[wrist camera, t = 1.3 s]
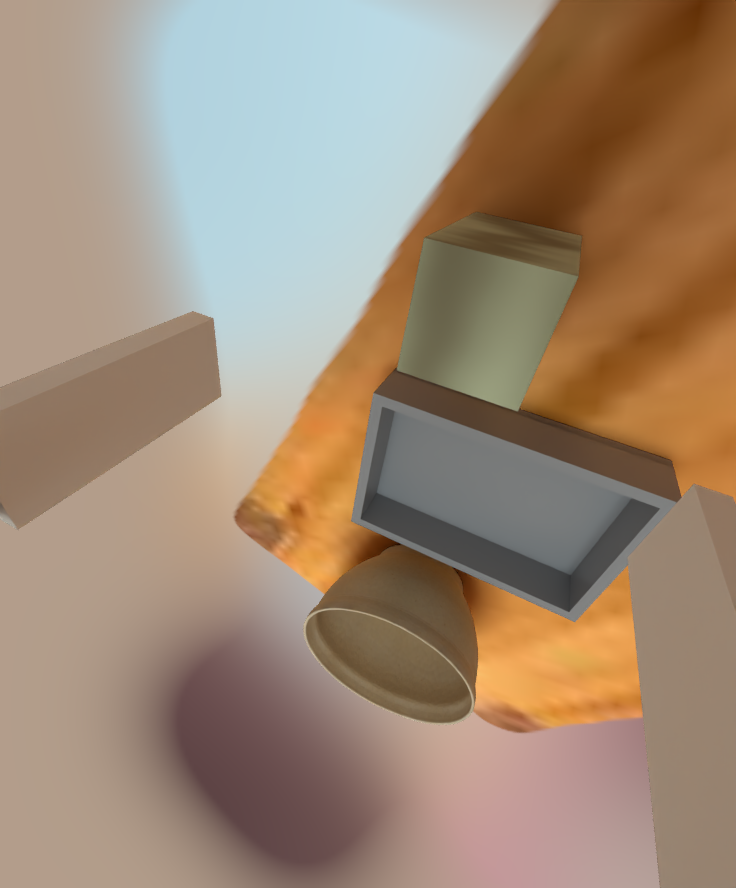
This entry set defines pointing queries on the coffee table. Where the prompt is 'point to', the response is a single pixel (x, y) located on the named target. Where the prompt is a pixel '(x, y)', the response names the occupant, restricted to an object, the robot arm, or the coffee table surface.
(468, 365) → the olive block
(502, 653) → the coffee table surface
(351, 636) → the planter bowl
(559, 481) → the bin
